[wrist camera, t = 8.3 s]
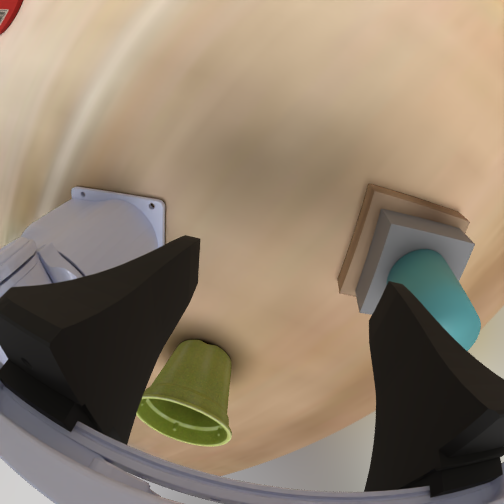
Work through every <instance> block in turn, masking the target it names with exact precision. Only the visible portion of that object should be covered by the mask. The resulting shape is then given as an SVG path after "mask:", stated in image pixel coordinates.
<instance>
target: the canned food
mask: <svg viewBox="0 0 504 504" xmlns="http://www.w3.org/2000/svg"><path fill="white" fill-rule="evenodd" d="M22 1H23V0H0V34H1V33H3V32H4V31H5V30H6V29H7V28H8V26H9V25H10V24H11V22H12V21H13V19H14V18H15V16H16V14H17V12H18V10H19V8H20V6H21V4H22Z"/></svg>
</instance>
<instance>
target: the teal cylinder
mask: <svg viewBox="0 0 504 504" xmlns="http://www.w3.org/2000/svg"><path fill="white" fill-rule="evenodd" d="M388 281H391V282H396V283H400V284H403V285H404V286H405V287H406V288H407V289H408V290H409V291H411V293H412V294H413V295H414V296H415V297H416V298H417V299H418V300H419V301H420V302H421V303H422V304H423V306H424V307H425V308H426V309H427V310H428V311H429V312H430V313H431V315H432V316H433V317H434V318H435V319H436V320H437V321H438V322H439V323H440V325H441V326H442V327H443V328H444V329H445V330H446V331H447V332H448V333H449V334H450V335H451V336H452V337H453V338H454V339H455V340H456V341H457V342H458V343H459V344H460V345H461V346H462V347H463V348H464V349H465V350H466V351H468V350H469V349H470V348H471V346H472V345H473V344H474V343H475V341H476V339H477V337H478V335H479V332H480V327H481V323H480V319H479V316H478V315H477V313H476V311H475V309H474V307H473V305H472V304H471V302H470V300H469V298H468V297H467V295H466V293H465V291H464V290H463V288H462V286H461V285H460V283H459V281H458V280H457V278H456V276H455V275H454V273H453V272H452V270H451V268H450V267H449V265H448V264H447V262H446V261H445V259H444V258H443V257H442V255H440V254H439V253H438V252H436V251H433V250H429V249H420V250H415V251H412V252H410V253H408V254H406V255H404V256H403V257H402V258H400V259H399V260H398V261H397V262H396V263H395V264H394V266H393V267H392V269H391V270H390V272H389V275H388V278H387V284H388Z"/></svg>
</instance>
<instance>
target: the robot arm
mask: <svg viewBox="0 0 504 504" xmlns="http://www.w3.org/2000/svg"><path fill="white" fill-rule="evenodd" d="M83 192H84V193H85V195H84V193H83ZM71 194H72V199H70V200H69V201H67V202H65V203H64V204H62V205H60V206H59V207H57V208H55V209H54V210H52V211H50V212H49V213H47V214H46V215H44V216H42V217H41V218H39V219H38V220H36V221H35V222H33V223H32V224H30V225H29V226H28V227H27V228H26V229H25V231H24V232H23V234H22V235H21V237H19V238H17V239H15V240H14V241H12V242H10V243H8V244H7V245H5V246H4V247H2V248H1V249H0V457H1V459H2V460H4V461H5V462H6V463H7V464H8V465H9V466H10V467H11V468H12V469H13V470H14V471H15V472H16V473H18V474H19V475H20V476H21V477H22V478H23V479H25V480H26V481H27V482H28V483H29V484H30V485H32V486H33V487H34V488H35V489H37V490H38V491H39V492H41V493H42V494H43V495H44V496H46V497H47V498H49V499H50V500H51V501H53V502H54V503H55V504H183V503H179V502H176V501H172V500H169V499H165V498H162V497H161V496H159V495H158V494H156V493H155V492H153V491H152V490H151V489H150V485H149V483H147V482H145V481H143V480H141V479H139V478H137V477H140V478H142V479H145V480H147V481H150V482H152V483H155V484H158V485H161V486H163V487H167V488H169V489H172V490H175V491H178V492H181V493H185V494H188V495H191V496H195V497H198V498H202V499H206V500H210V501H214V502H218V503H223V504H504V462H503V463H501V461H500V457H502V456H503V455H504V379H502V378H501V377H499V376H498V375H496V374H495V373H493V372H492V371H491V370H489V369H488V368H487V367H485V366H484V365H483V364H482V363H480V362H479V361H478V360H476V359H475V358H474V357H473V356H472V355H471V354H470V353H468V352H467V351H466V350H465V349H464V348H463V347H462V346H461V345H460V344H459V343H458V342H457V341H456V340H455V339H454V338H453V337H452V336H451V335H450V334H449V333H448V332H447V331H446V330H445V329H444V328H443V327H442V326H441V325H440V323H439V322H438V321H437V320H436V319H435V318H434V317H433V316H432V315H431V313H430V312H429V311H428V310H427V309H426V308H425V307H424V306H423V304H422V303H421V302H420V301H419V300H418V299H417V298H416V297H415V296H414V295H413V294H412V293H411V291H409V290H408V289H407V288H406V287H405V286H404V285H403V284H400V283H396V282H391V281H388V284H387V286H386V288H385V290H384V292H383V294H382V296H381V298H380V300H379V302H378V304H377V306H376V308H375V310H374V312H373V314H372V316H371V318H370V320H369V344H370V351H371V359H372V366H373V373H374V381H375V390H376V424H375V436H374V445H373V452H372V458H371V464H370V469H369V474H368V478H367V482H366V486H365V490H364V492H327V491H309V490H298V489H289V488H280V487H273V486H266V485H260V484H254V483H249V482H243V481H239V480H233V479H229V478H225V477H221V476H217V475H213V474H209V473H205V472H201V471H198V470H194V469H191V468H188V467H184V466H181V465H178V464H175V463H172V462H169V461H166V460H163V459H161V458H158V457H155V456H153V455H150V454H147V453H145V452H142V451H140V450H137V449H135V448H133V447H130V446H128V445H127V443H128V439H129V436H130V433H131V429H132V426H133V423H134V419H135V416H136V413H137V411H138V408H139V405H140V402H141V399H142V396H143V394H144V391H145V388H146V386H147V383H148V381H149V378H150V376H151V373H152V371H153V369H154V366H155V364H156V362H157V359H158V357H159V355H160V353H161V351H162V349H163V347H164V345H165V344H166V342H167V340H168V339H169V337H170V335H171V334H172V332H173V330H174V329H175V327H176V325H177V323H178V322H179V320H180V318H181V317H182V315H183V313H184V312H185V310H186V308H187V307H188V305H189V303H190V300H191V298H192V296H193V293H194V291H195V289H196V286H197V284H198V269H199V252H200V239H199V238H195V237H190V236H186V235H185V236H182V237H180V238H178V239H176V240H173V241H171V242H169V243H167V244H165V204H164V202H163V201H162V200H159V199H153V198H147V197H141V196H135V195H129V194H123V193H117V192H111V191H104V190H98V189H91V188H84V187H78V186H76V187H74V188H72V190H71ZM151 203H153V204H154V206H155V207H152V206H151ZM127 472H128V473H127ZM129 473H130V474H129ZM131 474H132V475H131ZM133 475H135V476H137V477H135V476H133Z"/></svg>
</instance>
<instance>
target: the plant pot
mask: <svg viewBox="0 0 504 504" xmlns="http://www.w3.org/2000/svg"><path fill="white" fill-rule="evenodd" d="M230 376H231V360H230V358H229V356H228V355H227V354H226V353H225V352H224V351H223V350H222V349H221V348H219V347H218V346H216V345H209V344H206V343H204V342H202V341H201V340H187V341H184V342H182V343H180V344H179V346H178V347H177V348H176V350H175V351H174V353H173V354H172V356H171V357H170V359H169V360H168V362H167V363H166V365H165V366H164V368H163V369H162V370H161V372H160V373H159V375H158V376H157V378H156V379H155V381H154V382H153V384H152V385H151V386H150V387H149V388H147V389H146V390H145V391H144V394H143V396H142V399H141V402H140V405H139V408H138V411H137V413H136V415H137V416H138V417H139V418H140V419H141V420H142V421H143V422H144V423H145V424H147V425H148V426H149V427H151V428H152V429H154V430H156V431H157V432H159V433H161V434H163V435H165V436H167V437H170V438H172V439H175V440H177V441H181V442H184V443H188V444H193V445H198V446H220V445H223V444H226V443H227V442H229V441H230V440H231V436H232V432H231V429H230V428H229V419H228V415H227V408H228V396H229V385H230Z"/></svg>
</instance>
